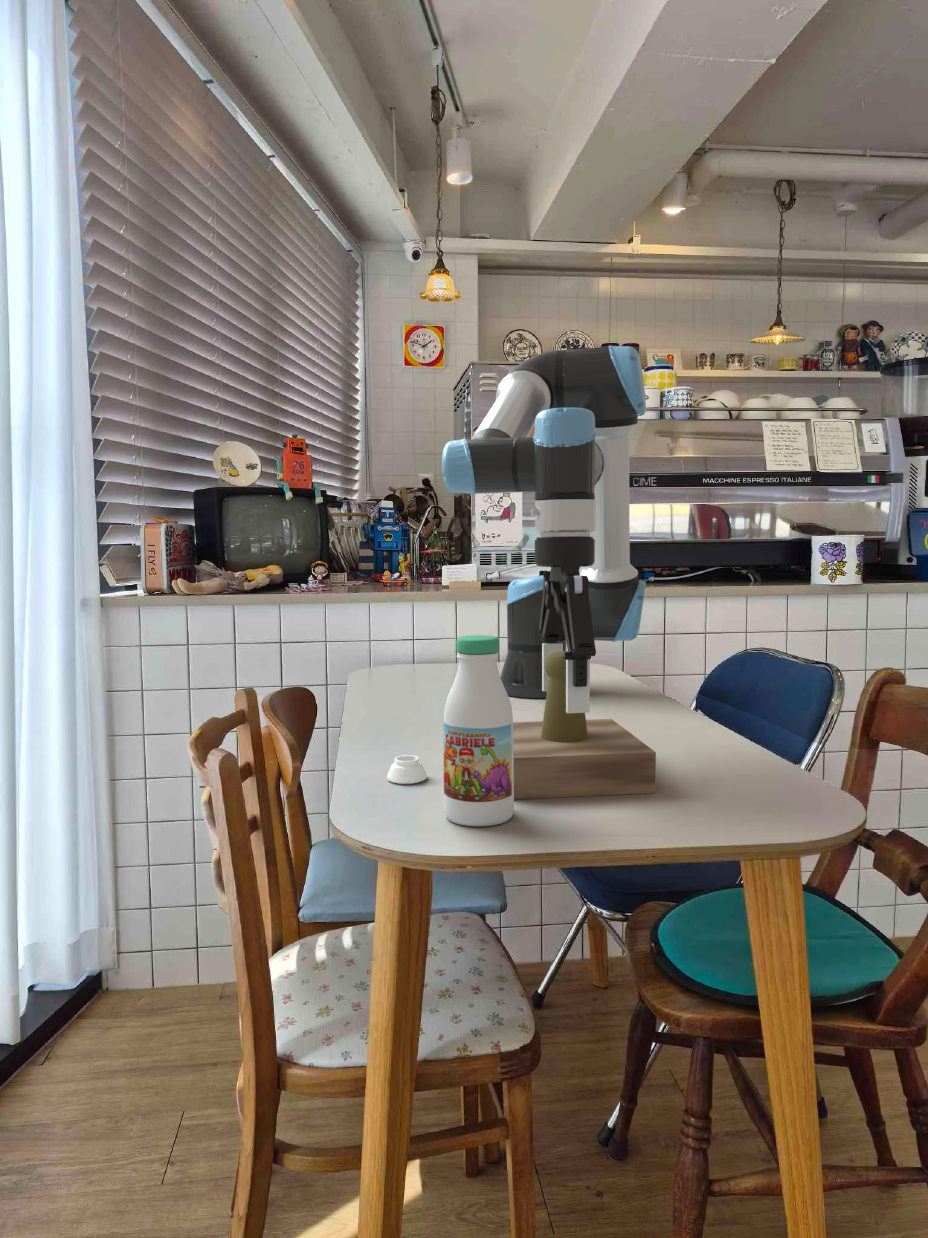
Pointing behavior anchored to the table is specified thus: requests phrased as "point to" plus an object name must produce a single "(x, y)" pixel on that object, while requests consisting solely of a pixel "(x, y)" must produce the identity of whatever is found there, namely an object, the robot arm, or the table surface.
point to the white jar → (406, 770)
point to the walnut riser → (581, 763)
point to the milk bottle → (478, 738)
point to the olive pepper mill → (560, 705)
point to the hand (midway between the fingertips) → (564, 701)
